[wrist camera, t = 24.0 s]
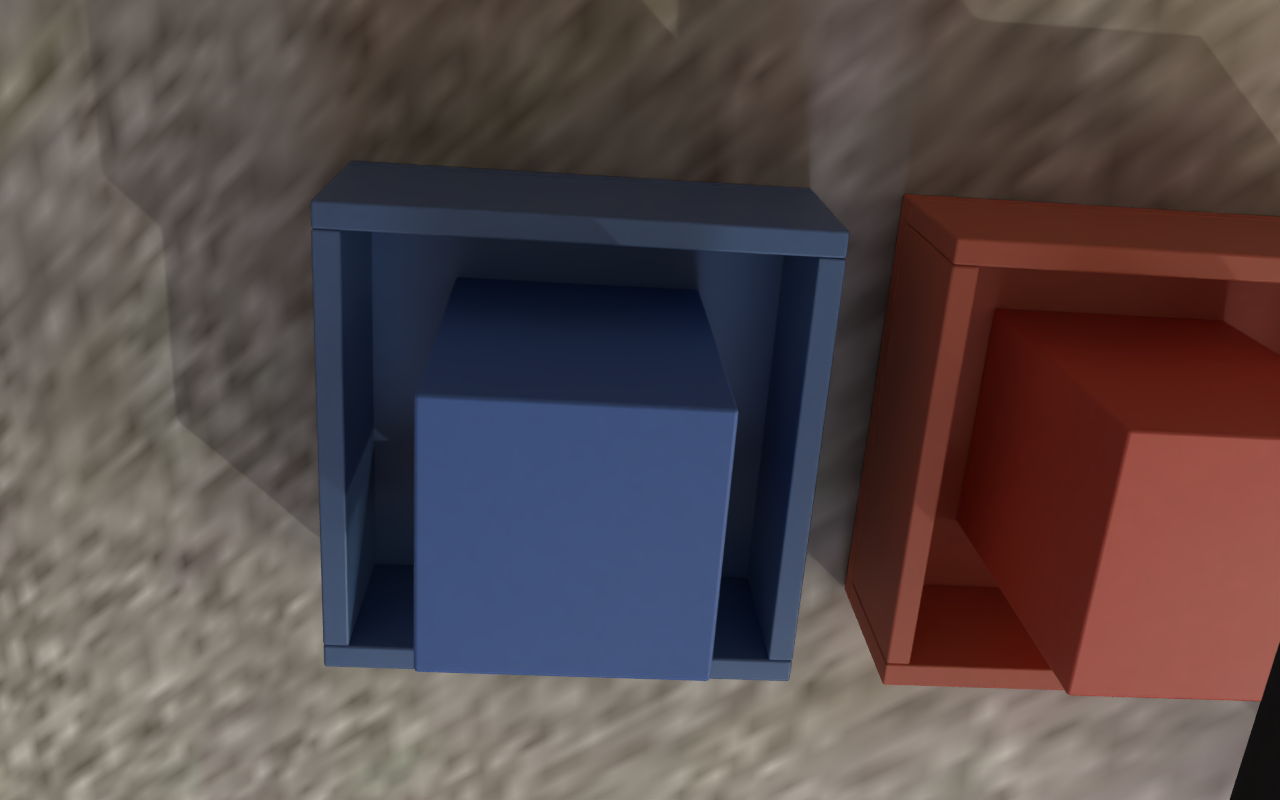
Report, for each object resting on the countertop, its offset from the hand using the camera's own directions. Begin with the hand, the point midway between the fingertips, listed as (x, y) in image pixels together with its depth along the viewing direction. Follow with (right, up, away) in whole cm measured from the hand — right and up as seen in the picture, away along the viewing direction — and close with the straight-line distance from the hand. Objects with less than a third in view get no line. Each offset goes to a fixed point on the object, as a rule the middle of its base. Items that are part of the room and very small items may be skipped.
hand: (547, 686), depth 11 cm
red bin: (+13, +2, +22) cm, 25 cm away
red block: (+13, +2, +21) cm, 25 cm away
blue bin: (-1, +3, +21) cm, 21 cm away
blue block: (-1, +3, +20) cm, 20 cm away
